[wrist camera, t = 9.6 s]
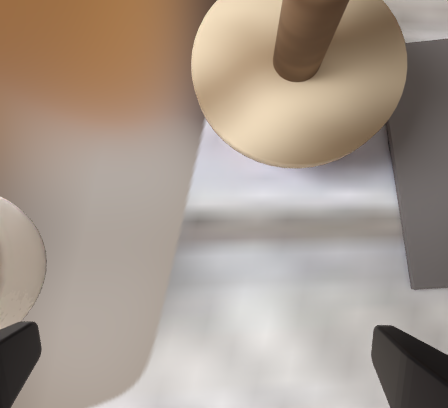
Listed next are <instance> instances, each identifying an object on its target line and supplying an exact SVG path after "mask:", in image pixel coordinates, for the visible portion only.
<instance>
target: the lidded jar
mask: <svg viewBox="0 0 448 408" xmlns="http://www.w3.org/2000/svg"><path fill="white" fill-rule="evenodd" d="M45 274H46V251H45V247H44V243H43V240H42V238H41V236H40V233H39V231H38V229H37V228H36V226H35V225H34V223H33V222H32V220H31V219H30V218H29V217H28V216H27V215H26V214H25V213H24V212H23V211H22V210H20V209H19V208H18V207H17V206H15V205H14V204H13V203H12V202H10V201H8V200H6V199H4V198H2V197H0V329H3V328H5V327H7V326H10V325H12V324H15V323H17V322H21V321H22V319H24V317H25V316H26V315H27V314H28V312H29V311H30V310H31V308H32V307H33V305H34V303H35V301H36V300H37V298H38V296H39V294H40V291H41V289H42V285H43V283H44V279H45Z"/></svg>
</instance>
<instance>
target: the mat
mask: <svg viewBox="0 0 448 408" xmlns="http://www.w3.org/2000/svg"><path fill="white" fill-rule="evenodd" d="M405 46H406V51H407V75H406V82H405V86H404V89H403V93H402V96H401V98H400V100H399V103H398V105H397V107H396V109H395V110H394V112H393V114H392V115H391V117H390V118H389V120H388V121H387V122H386V126H387V133H388V139H389V146H390V152H391V159H392V165H393V172H394V178H395V185H396V191H397V198H398V204H399V211H400V217H401V224H402V230H403V237H404V243H405V250H406V256H407V263H408V269H409V276H410V282H411V289H414V290H417V289H432V288H447V287H448V39H441V40H432V41H422V42H413V43H405Z"/></svg>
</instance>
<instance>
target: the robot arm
mask: <svg viewBox="0 0 448 408" xmlns="http://www.w3.org/2000/svg"><path fill="white" fill-rule="evenodd" d="M40 355H41V342H40V336H39V330H38V325H37V324H36V323H35V322H17V323H15V324H12V325H10V326H7V327H5V328H3V329H0V408H11V406H12V405H13V403H14V401H15V399H16V398H17V396H18V394H19V392H20V391H21V389H22V387H23V385H24V384H25V382H26V380H27V379H28V377H29V375H30V373H31V372H32V370H33V368H34V366H35V365H36V363H37V361H38V359H39V357H40ZM371 357H372V362H373V365H374V367H375V370H376V373H377V375H378V378H379V380H380V383H381V385H382V388H383V390H384V393H385V395H386V398H387V400H388V403H389V405H390V408H448V355H446V354H445V353H443V352H441V351H439V350H437V349H435V348H433V347H431V346H430V345H428V344H426V343H424V342H422V341H420V340H418V339H416V338H415V337H413V336H411V335H409V334H407V333H405V332H403V331H402V330H400V329H398V328H396V327H394V326H391V325H377V326H376V327H375V328H374V331H373V341H372V351H371Z"/></svg>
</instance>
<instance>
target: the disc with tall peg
mask: <svg viewBox="0 0 448 408" xmlns="http://www.w3.org/2000/svg"><path fill="white" fill-rule="evenodd" d="M191 68H192V79H193V84H194V89H195V92H196V96H197V99H198V102H199V104H200V107H201V110H202V112H203V114H204V116H205V118H206V120H207V121H208V123H209V124H210V126H211V127H212V128H213V130H214V131H215V132H216V133H217V135H218V136H219V137H220V138H221V139H222V140H223V141H224V142H225V143H227V144H228V145H229V146H230V147H232V148H233V149H234V150H236V151H237V152H239V153H241V154H242V155H244V156H246V157H248V158H250V159H253V160H255V161H257V162H260V163H264V164H267V165H270V166H276V167H282V168H308V167H315V166H319V165H324V164H327V163H330V162H333V161H336V160H338V159H340V158H342V157H344V156H346V155H348V154H350V153H352V152H353V151H355V150H356V149H358V148H359V147H360V146H362V145H363V144H364V143H366V142H367V141H368V140H369V139H370V138H372V137H373V136H374V135H375V134H376V133H377V132H378V131H379V130H380V129H381V128H382V127H383V126H384V124H385V123H386V122H387V121H388V120H389V118H390V117H391V115H392V114H393V112H394V110H395V109H396V107H397V105H398V103H399V100H400V98H401V96H402V93H403V89H404V86H405V82H406V75H407V51H406V46H405V41H404V37H403V34H402V31H401V28H400V26H399V24H398V22H397V20H396V18H395V16H394V15H393V13H392V12H391V10H390V9H389V7H388V6H387V5H386V4H385V3H384V1H383V0H217V1H216V2H215V4H214V5H213V6H212V7H211V9H210V10H209V11H208V13H207V14H206V16H205V17H204V20H203V22H202V23H201V25H200V27H199V29H198V32H197V35H196V38H195V41H194V46H193V51H192V62H191Z"/></svg>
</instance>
